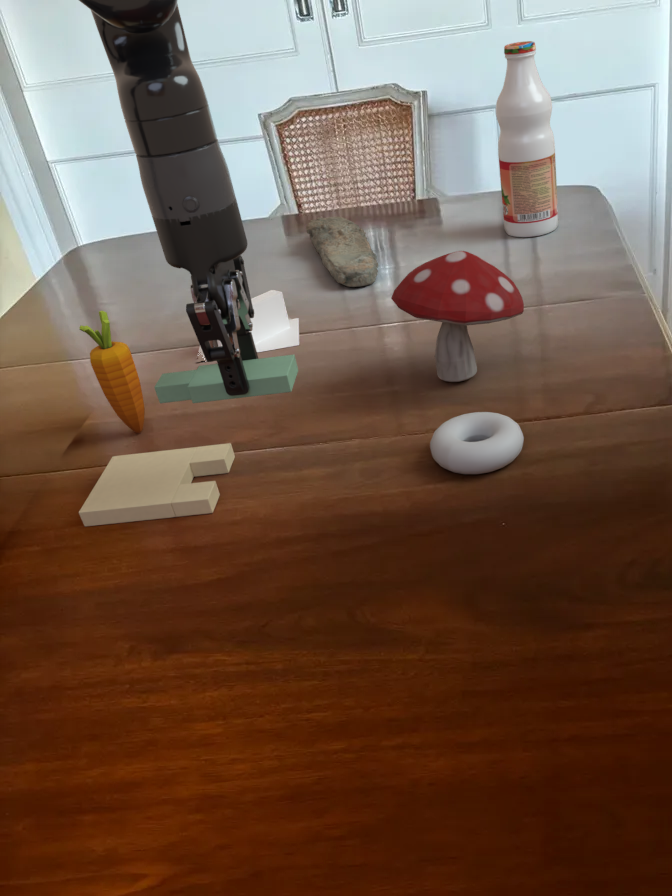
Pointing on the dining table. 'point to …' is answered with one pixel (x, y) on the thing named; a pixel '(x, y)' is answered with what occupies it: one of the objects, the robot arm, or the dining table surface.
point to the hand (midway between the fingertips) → (244, 380)
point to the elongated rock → (344, 250)
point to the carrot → (117, 375)
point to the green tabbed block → (209, 385)
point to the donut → (476, 443)
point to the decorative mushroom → (458, 305)
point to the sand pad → (157, 485)
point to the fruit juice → (526, 147)
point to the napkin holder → (271, 323)
